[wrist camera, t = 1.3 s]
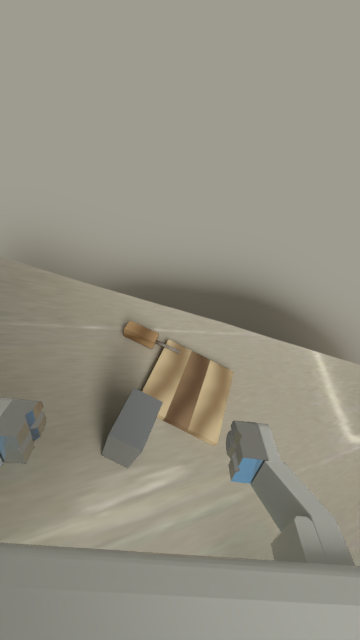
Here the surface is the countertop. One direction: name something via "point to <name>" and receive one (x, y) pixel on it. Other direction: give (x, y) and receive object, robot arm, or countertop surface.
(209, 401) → the plywood board
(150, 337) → the awl
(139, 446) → the block
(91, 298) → the countertop surface
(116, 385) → the countertop surface
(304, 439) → the countertop surface
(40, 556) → the robot arm
